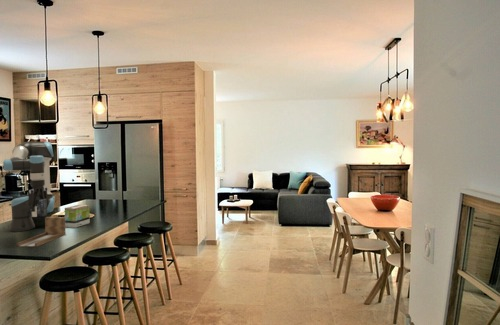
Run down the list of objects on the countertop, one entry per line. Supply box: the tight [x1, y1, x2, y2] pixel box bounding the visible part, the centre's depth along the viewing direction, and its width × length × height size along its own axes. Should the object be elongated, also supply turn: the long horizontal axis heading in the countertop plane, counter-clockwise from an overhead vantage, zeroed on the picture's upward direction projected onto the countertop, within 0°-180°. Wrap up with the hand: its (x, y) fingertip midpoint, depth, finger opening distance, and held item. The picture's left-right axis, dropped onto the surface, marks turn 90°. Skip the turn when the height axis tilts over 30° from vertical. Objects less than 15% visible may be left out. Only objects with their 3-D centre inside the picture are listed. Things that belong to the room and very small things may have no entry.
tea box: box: [64, 204, 91, 229], centre depth 243 cm, size 15×10×15 cm
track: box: [16, 216, 66, 248], centre depth 205 cm, size 13×26×12 cm, turn 175°
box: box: [30, 199, 48, 218], centre depth 205 cm, size 8×6×11 cm
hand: (39, 215), depth 205 cm, fingers closed on box, 7 cm apart
